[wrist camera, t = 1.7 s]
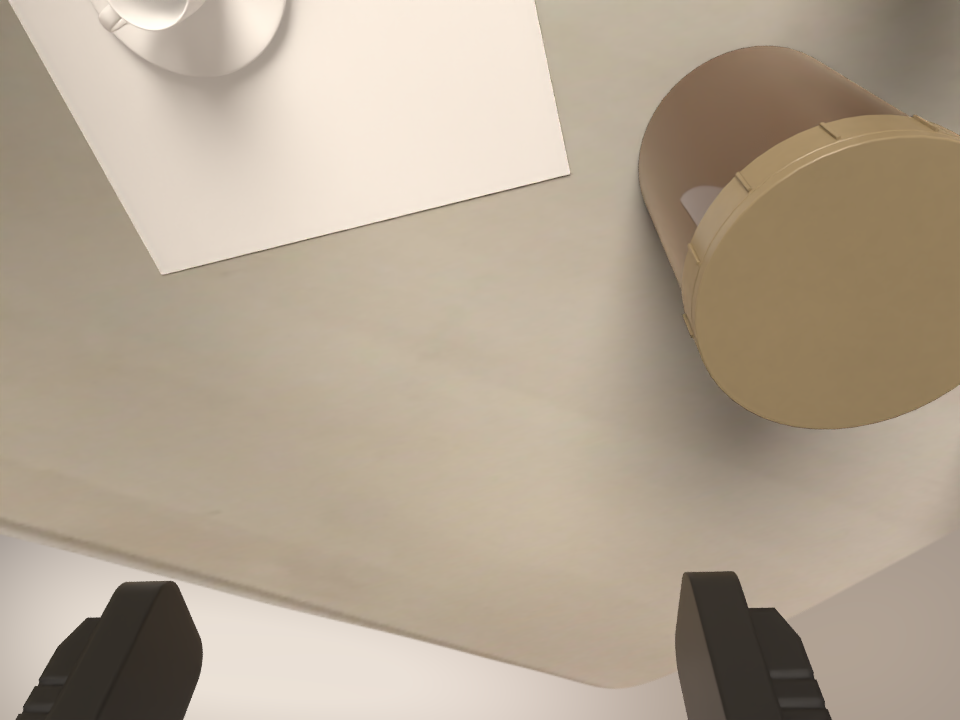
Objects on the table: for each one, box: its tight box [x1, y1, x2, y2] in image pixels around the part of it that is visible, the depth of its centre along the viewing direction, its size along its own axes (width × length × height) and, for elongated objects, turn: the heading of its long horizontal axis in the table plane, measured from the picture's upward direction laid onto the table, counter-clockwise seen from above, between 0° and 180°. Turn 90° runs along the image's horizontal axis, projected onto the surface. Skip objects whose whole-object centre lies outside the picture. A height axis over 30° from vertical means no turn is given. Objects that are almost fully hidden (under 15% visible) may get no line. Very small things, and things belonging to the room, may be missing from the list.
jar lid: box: [682, 115, 960, 429], centre depth 22 cm, size 9×9×2 cm
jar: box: [638, 46, 910, 291], centre depth 27 cm, size 9×9×12 cm
